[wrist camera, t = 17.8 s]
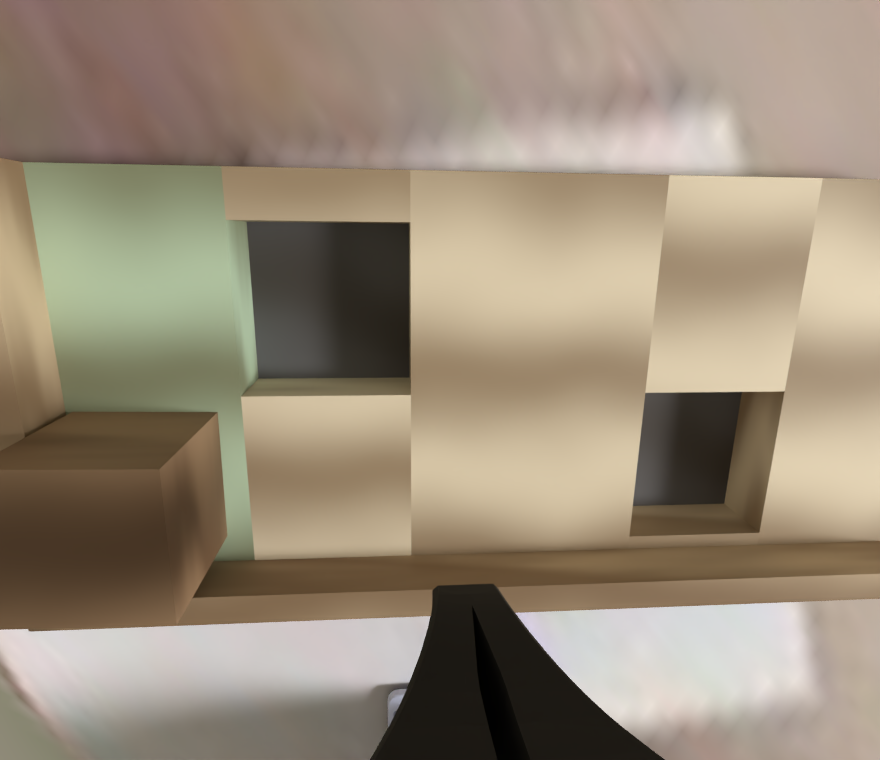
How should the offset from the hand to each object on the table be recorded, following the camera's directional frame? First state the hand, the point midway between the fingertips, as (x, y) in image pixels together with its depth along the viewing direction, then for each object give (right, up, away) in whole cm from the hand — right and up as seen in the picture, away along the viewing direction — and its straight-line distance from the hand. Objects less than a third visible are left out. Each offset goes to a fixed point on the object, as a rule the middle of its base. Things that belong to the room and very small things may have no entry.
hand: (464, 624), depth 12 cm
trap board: (+1, +5, +9) cm, 11 cm away
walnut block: (-10, +2, +6) cm, 12 cm away
